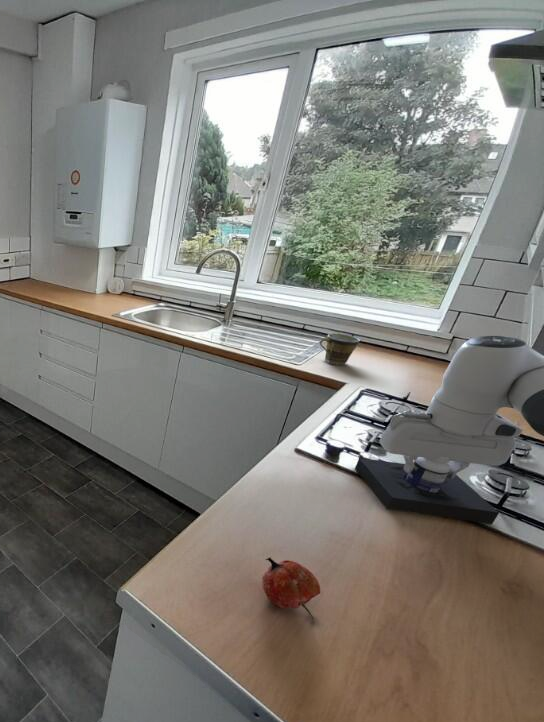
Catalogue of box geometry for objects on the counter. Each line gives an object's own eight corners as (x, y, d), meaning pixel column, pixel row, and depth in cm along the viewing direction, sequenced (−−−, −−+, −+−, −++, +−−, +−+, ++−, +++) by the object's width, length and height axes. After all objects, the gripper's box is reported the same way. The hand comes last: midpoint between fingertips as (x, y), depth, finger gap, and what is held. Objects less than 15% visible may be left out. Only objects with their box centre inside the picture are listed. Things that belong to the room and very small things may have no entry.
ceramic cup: (339, 357, 162) (348, 333, 157) (357, 367, 153) (366, 342, 148) (306, 357, 162) (314, 333, 158) (321, 366, 153) (330, 341, 149)
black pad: (444, 480, 92) (450, 469, 91) (492, 524, 80) (499, 512, 79) (354, 468, 96) (359, 458, 95) (386, 509, 84) (392, 497, 82)
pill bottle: (400, 478, 91) (419, 441, 87) (432, 486, 88) (452, 449, 84) (405, 492, 87) (425, 454, 82) (438, 501, 84) (460, 462, 80)
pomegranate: (308, 606, 66) (268, 547, 69) (348, 606, 60) (303, 541, 63) (280, 632, 63) (240, 569, 66) (320, 634, 57) (273, 565, 60)
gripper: (405, 418, 79) (379, 475, 85) (534, 431, 75) (497, 491, 81) (387, 403, 85) (364, 458, 91) (506, 415, 80) (474, 471, 86)
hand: (427, 473), depth 86 cm, fingers closed on pill bottle, 5 cm apart
